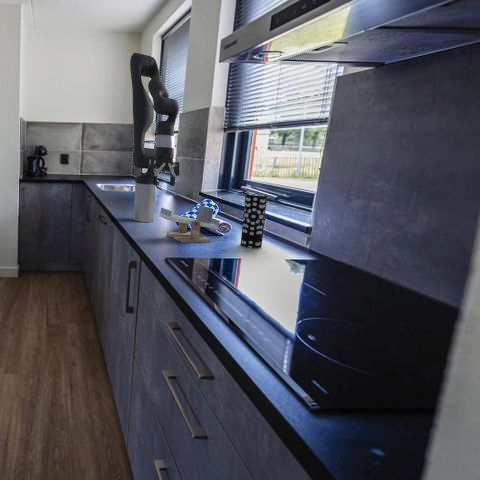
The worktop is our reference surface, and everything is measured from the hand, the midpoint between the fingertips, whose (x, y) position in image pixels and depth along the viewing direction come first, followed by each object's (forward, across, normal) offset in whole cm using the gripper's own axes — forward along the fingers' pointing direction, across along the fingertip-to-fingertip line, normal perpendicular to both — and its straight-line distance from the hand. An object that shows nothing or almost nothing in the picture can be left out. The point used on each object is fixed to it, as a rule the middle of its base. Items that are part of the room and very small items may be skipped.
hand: (163, 185), depth 184 cm
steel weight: (+13, -5, +23) cm, 27 cm away
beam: (+13, +1, +22) cm, 25 cm away
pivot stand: (+20, +1, +21) cm, 29 cm away
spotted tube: (+21, -16, +40) cm, 47 cm away
